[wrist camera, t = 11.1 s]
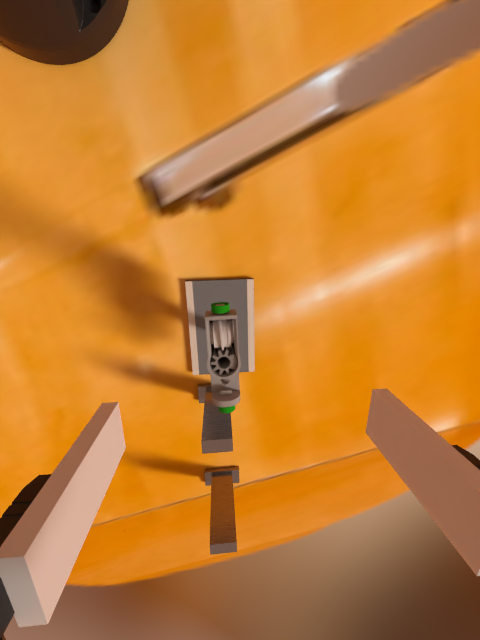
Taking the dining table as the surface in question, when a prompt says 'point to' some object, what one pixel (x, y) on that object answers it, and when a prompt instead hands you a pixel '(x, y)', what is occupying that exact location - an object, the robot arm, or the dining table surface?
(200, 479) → the dining table surface
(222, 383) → the mechanical component
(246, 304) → the mat
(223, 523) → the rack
